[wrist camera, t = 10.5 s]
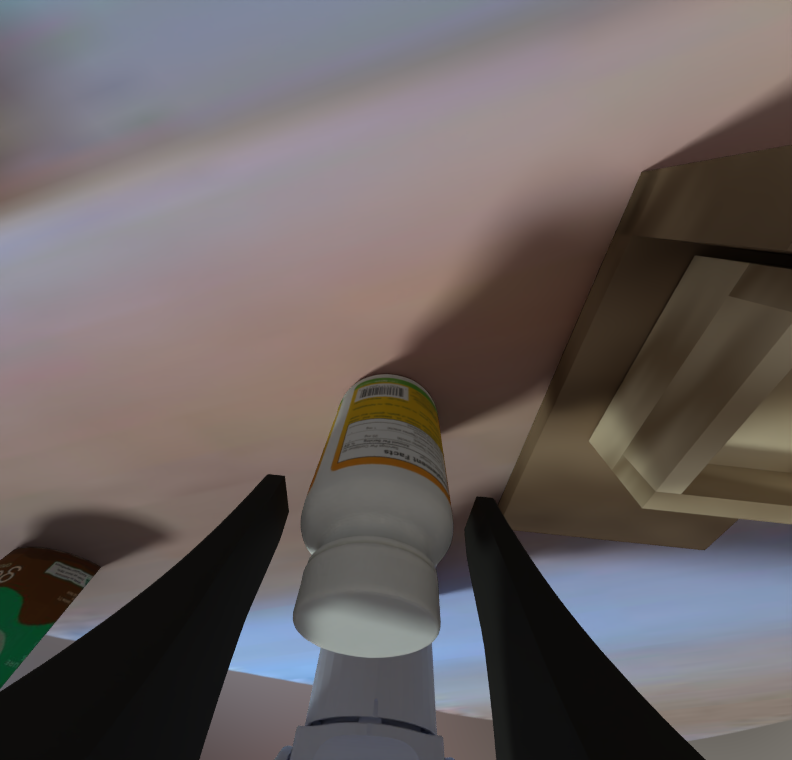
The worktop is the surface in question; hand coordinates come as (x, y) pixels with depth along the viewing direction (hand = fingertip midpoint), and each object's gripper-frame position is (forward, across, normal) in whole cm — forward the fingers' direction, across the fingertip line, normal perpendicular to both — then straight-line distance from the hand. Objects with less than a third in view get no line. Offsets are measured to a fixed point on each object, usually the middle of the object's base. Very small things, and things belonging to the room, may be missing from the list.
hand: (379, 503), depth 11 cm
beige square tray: (+5, -15, -5) cm, 16 cm away
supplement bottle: (+6, 0, 0) cm, 6 cm away
